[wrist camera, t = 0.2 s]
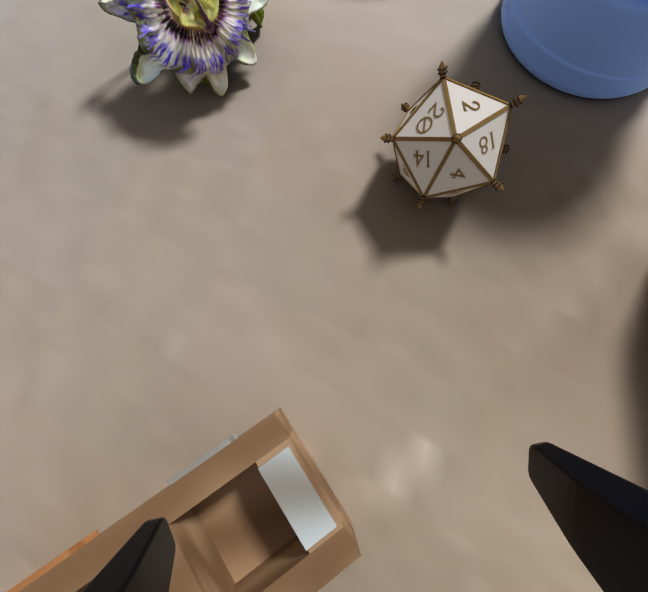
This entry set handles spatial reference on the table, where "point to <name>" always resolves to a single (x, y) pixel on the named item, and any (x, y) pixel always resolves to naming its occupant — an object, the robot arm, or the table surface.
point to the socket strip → (231, 522)
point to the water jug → (581, 44)
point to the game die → (451, 139)
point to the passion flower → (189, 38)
